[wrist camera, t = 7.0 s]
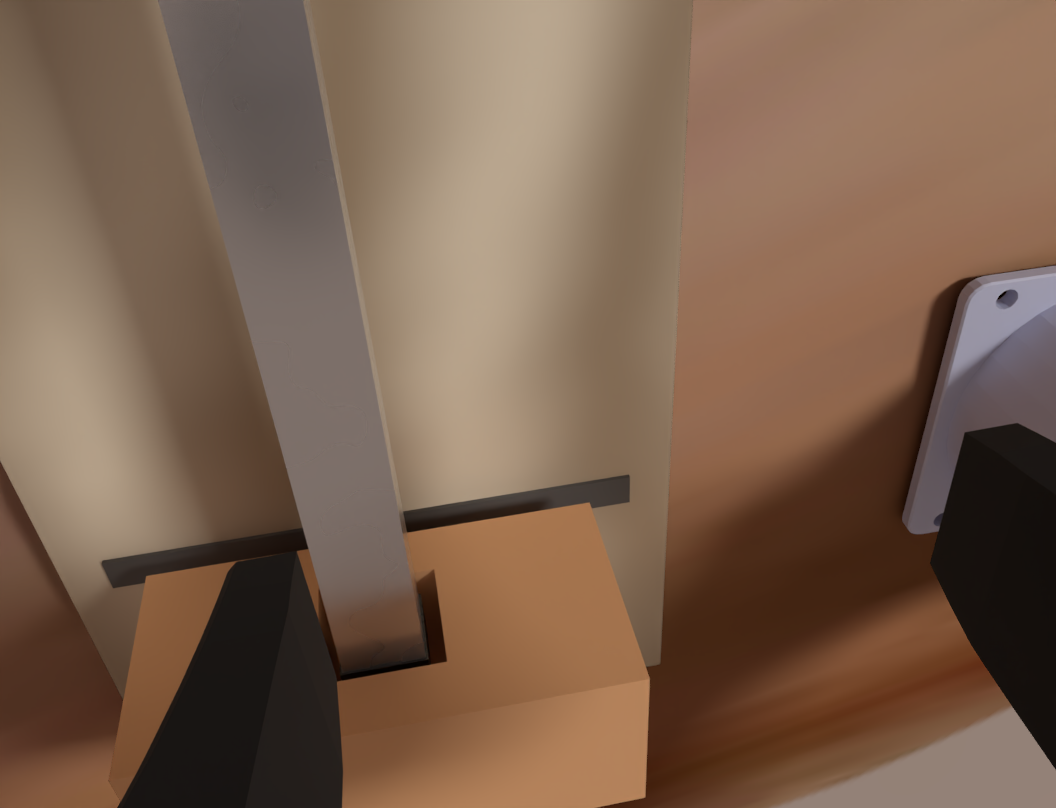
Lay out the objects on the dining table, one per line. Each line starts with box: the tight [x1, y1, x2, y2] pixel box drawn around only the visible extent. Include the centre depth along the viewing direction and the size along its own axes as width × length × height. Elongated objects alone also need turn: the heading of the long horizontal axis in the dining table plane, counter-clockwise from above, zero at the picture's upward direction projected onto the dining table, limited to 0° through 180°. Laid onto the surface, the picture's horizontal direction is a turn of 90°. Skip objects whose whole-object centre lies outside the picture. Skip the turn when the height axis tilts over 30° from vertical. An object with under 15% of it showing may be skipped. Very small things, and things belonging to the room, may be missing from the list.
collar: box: [108, 502, 650, 808], centre depth 20 cm, size 10×4×5 cm, turn 93°
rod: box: [158, 0, 431, 681], centre depth 16 cm, size 2×22×2 cm, turn 3°
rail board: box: [0, 0, 693, 699], centre depth 18 cm, size 14×24×5 cm, turn 3°
